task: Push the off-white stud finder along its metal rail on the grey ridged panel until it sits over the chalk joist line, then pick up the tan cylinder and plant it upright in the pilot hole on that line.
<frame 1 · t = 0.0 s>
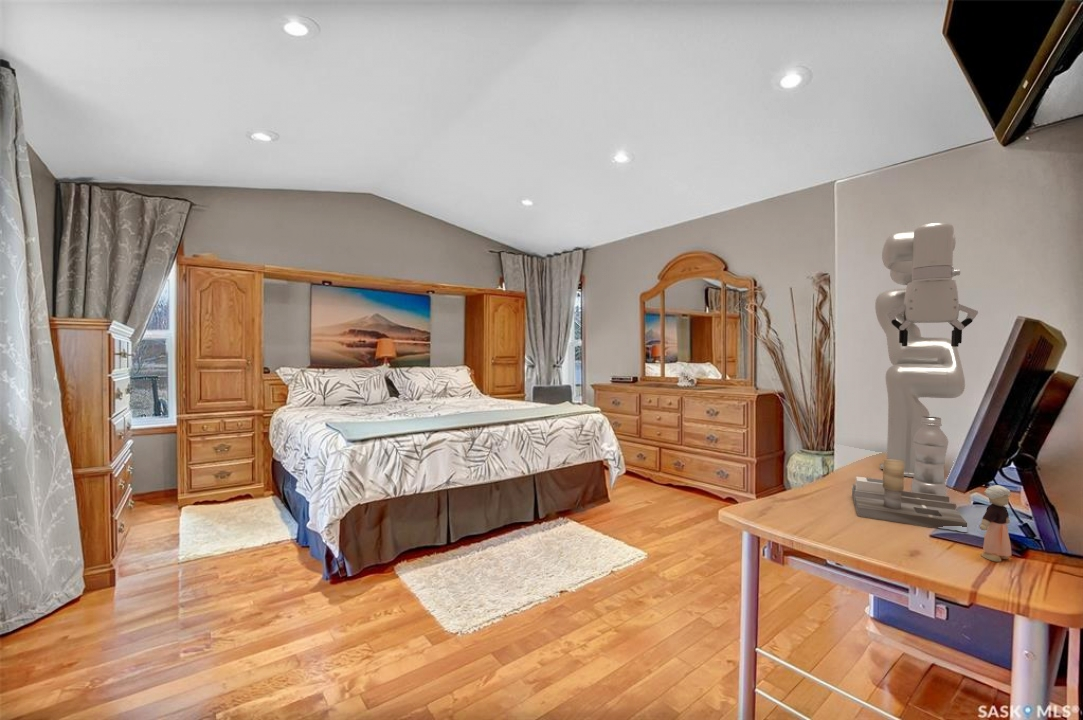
hand: (929, 346, 115), 37 cm above the table, tool pointing down, fingers open, 9 cm apart
plastic bottle: (928, 501, 113), on the table
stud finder: (871, 486, 110), point 4 cm above the table, slide at 0.0 cm
tan cylinder: (892, 506, 103), point 2 cm above the table, touching grey ridged panel
grey ridged panel: (903, 512, 105), on the table
grandmother figurine: (996, 557, 83), on the table
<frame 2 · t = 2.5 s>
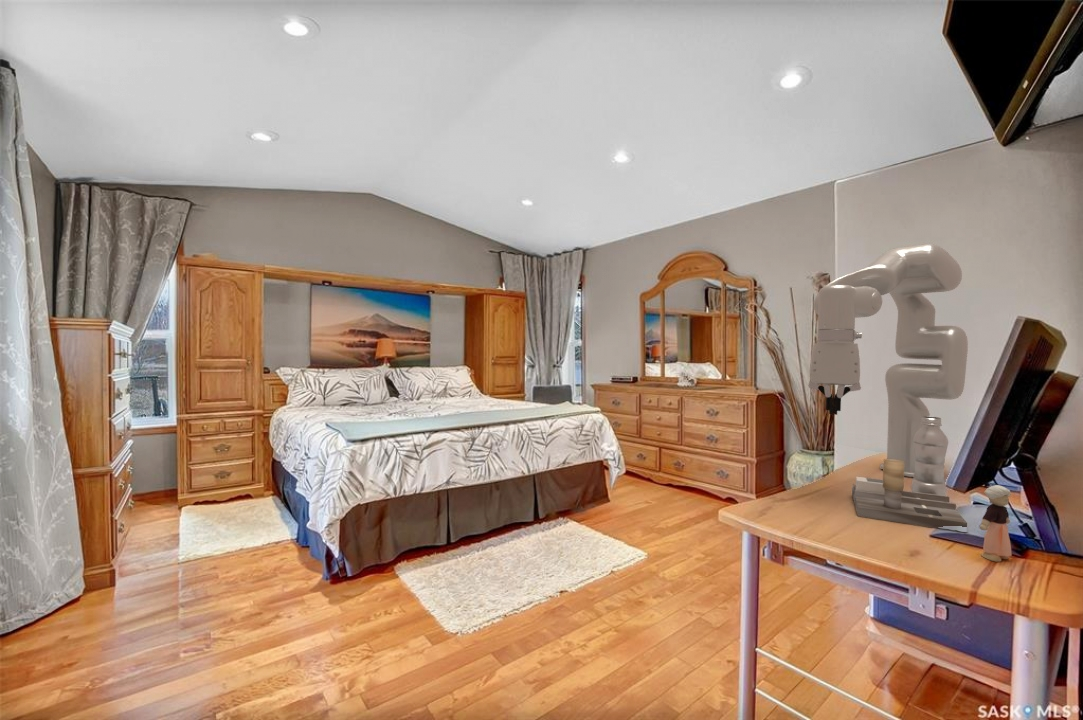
hand: (833, 413, 114), 21 cm above the table, tool pointing down, fingers closed
nothing on the table moved.
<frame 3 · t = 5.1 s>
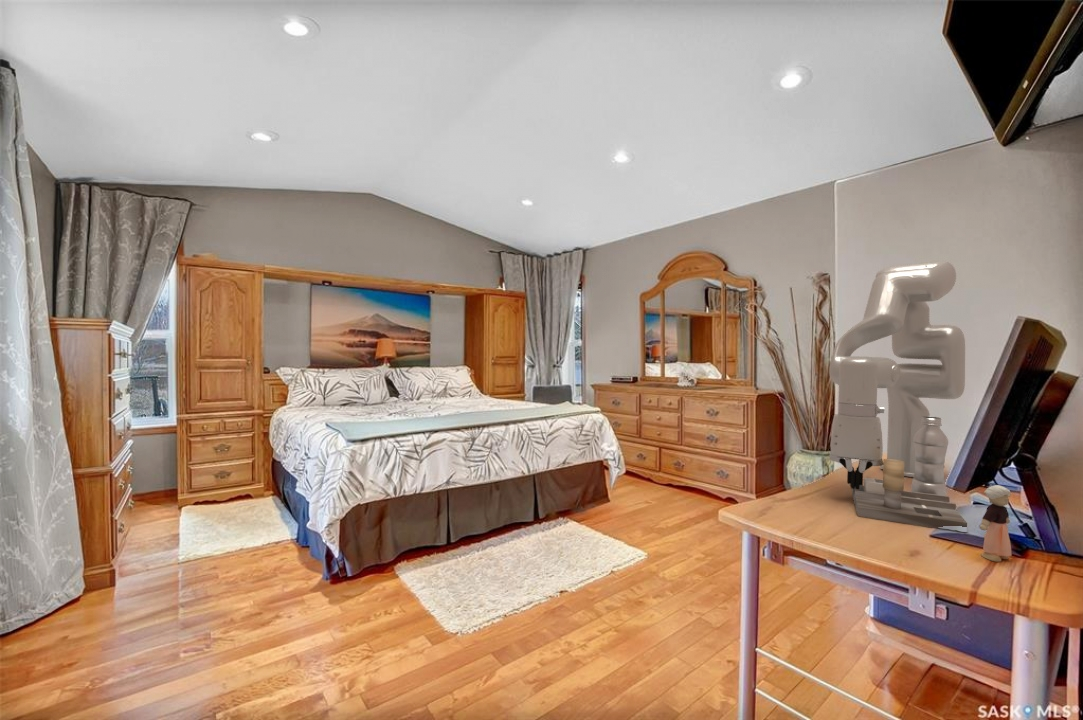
hand: (854, 487, 112), 3 cm above the table, tool pointing down, fingers closed
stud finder: (880, 487, 110), point 4 cm above the table, slide at 1.6 cm, touching gripper
everything else where it was.
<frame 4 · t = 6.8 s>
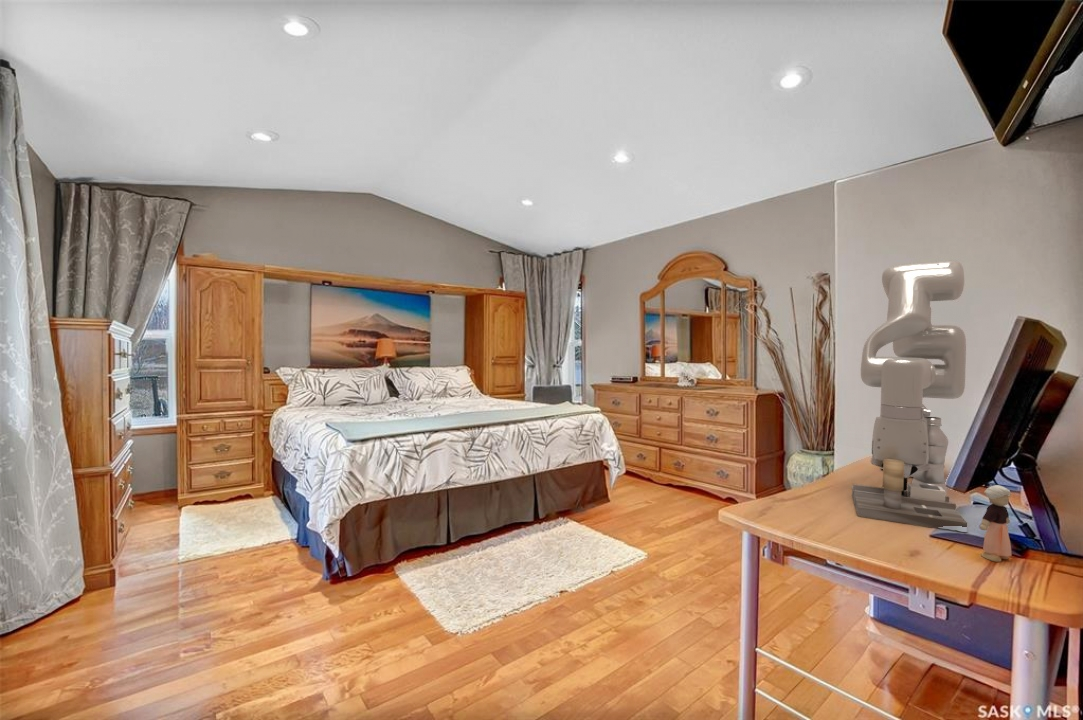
hand: (898, 492, 108), 3 cm above the table, tool pointing down, fingers closed
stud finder: (925, 493, 106), point 4 cm above the table, slide at 9.9 cm, touching gripper
everything else where it was.
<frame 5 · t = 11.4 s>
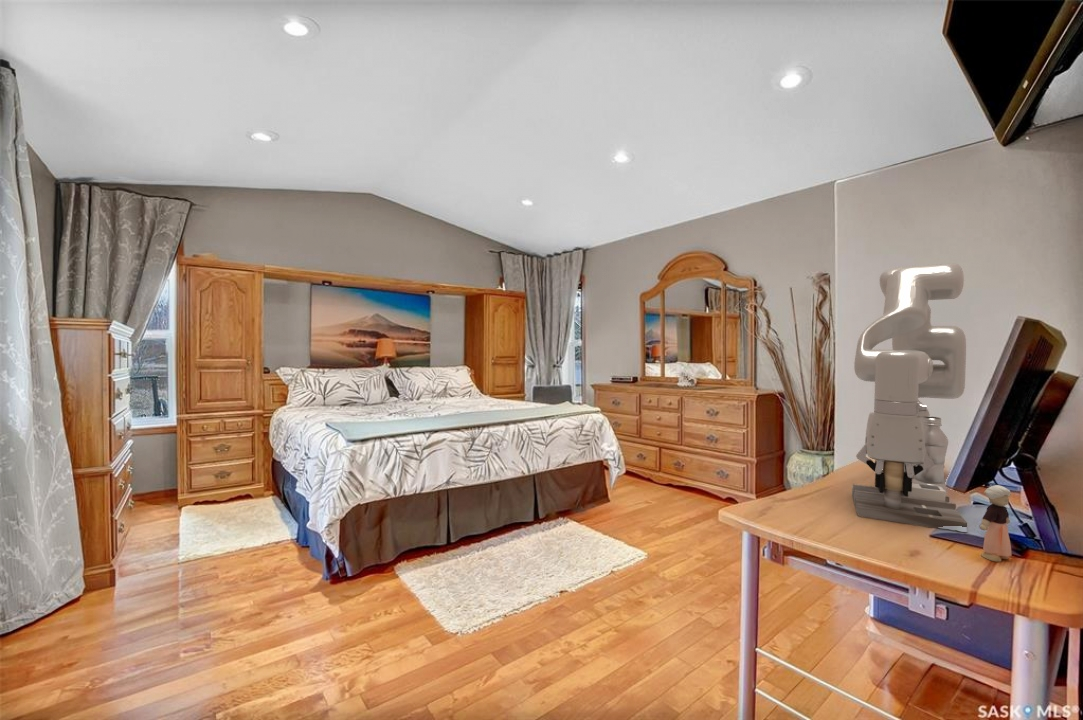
hand: (892, 491, 102), 5 cm above the table, tool pointing down, fingers closed on tan cylinder, 3 cm apart
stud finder: (925, 493, 106), point 4 cm above the table, slide at 9.9 cm
tan cylinder: (892, 506, 103), point 2 cm above the table, touching gripper, grey ridged panel
everything else where it was.
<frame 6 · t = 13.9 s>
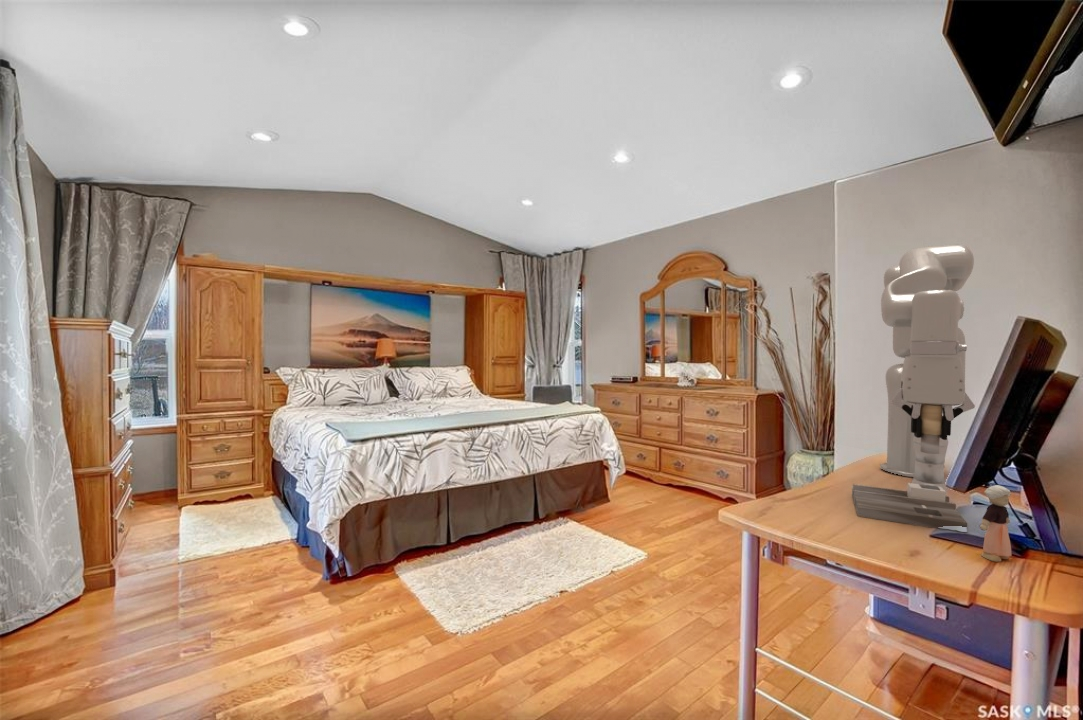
hand: (930, 436, 99), 18 cm above the table, tool pointing down, fingers closed on tan cylinder, 3 cm apart
tan cylinder: (929, 452, 99), point 15 cm above the table, touching gripper
everything else where it was.
when the fingers open (4 cm above the table, at t = 16.5 s): tan cylinder stays where it is, resting in grey ridged panel.
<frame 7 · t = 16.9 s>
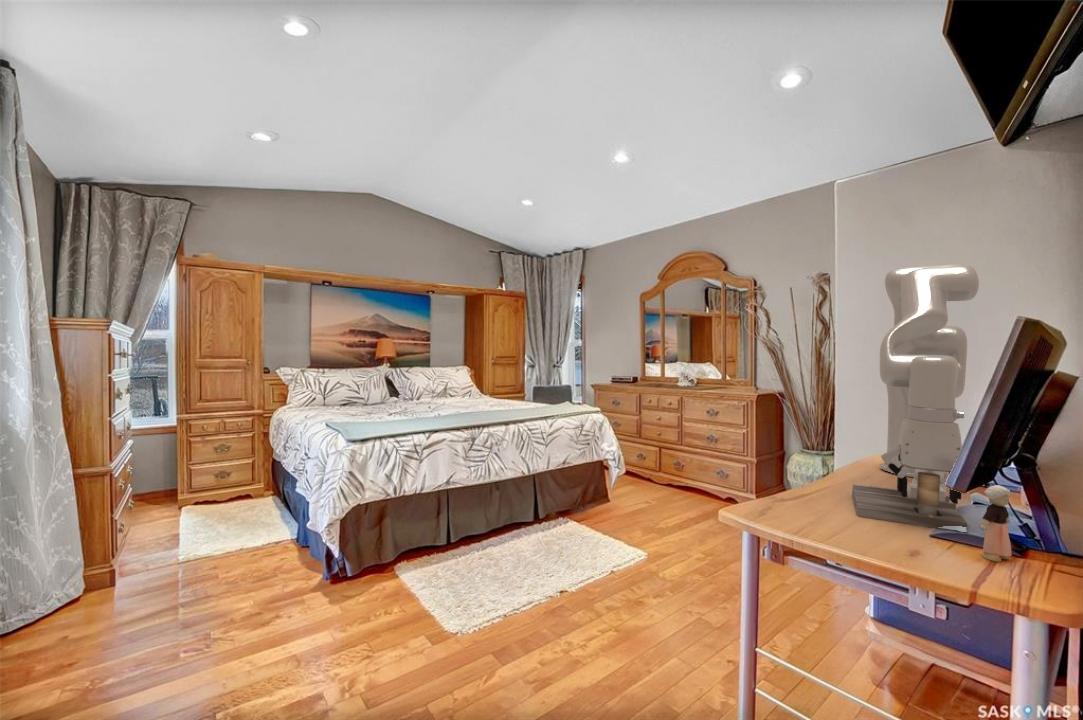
hand: (927, 498, 99), 5 cm above the table, tool pointing down, fingers open, 7 cm apart
tan cylinder: (927, 521, 100), resting in grey ridged panel
everything else where it was.
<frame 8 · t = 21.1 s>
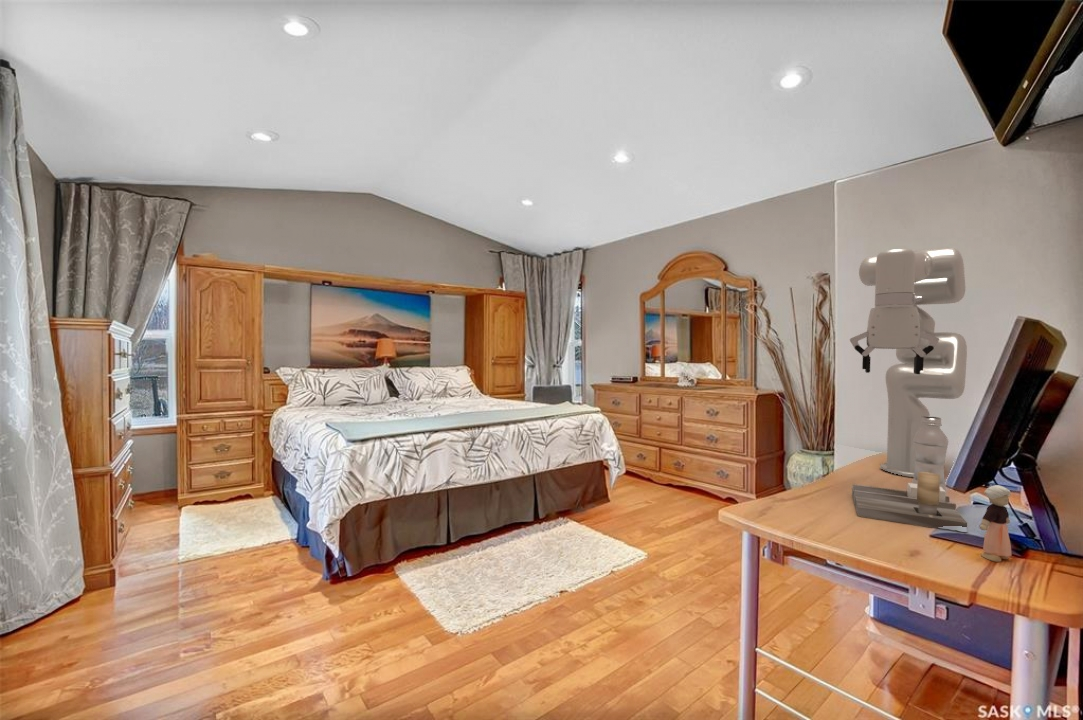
hand: (891, 373, 114), 30 cm above the table, tool pointing down, fingers open, 9 cm apart
nothing on the table moved.
at the end: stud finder slide at 9.9 cm; tan cylinder 0.0 cm from the target spot on the grey ridged panel, point 0.0 cm above the grey ridged panel's base; tan cylinder tilted 0° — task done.
